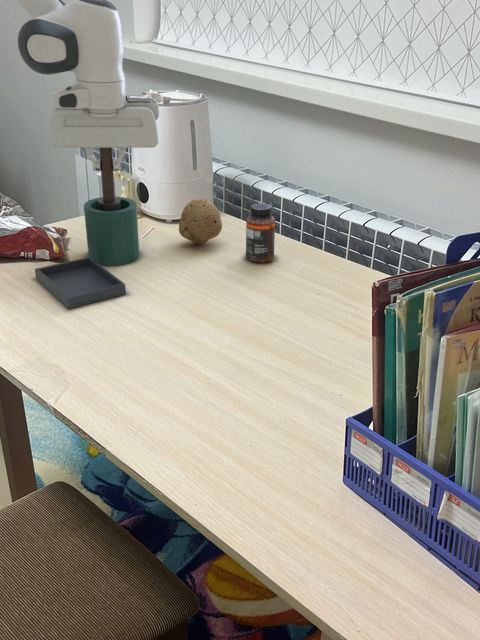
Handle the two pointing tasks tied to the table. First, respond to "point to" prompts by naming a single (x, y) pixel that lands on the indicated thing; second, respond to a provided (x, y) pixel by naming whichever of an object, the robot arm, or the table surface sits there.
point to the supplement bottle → (260, 233)
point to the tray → (80, 282)
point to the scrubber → (108, 182)
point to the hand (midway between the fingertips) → (106, 170)
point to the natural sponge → (200, 221)
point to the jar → (112, 233)
